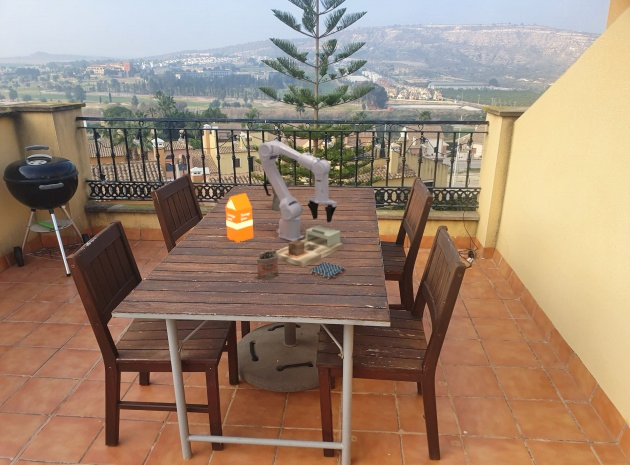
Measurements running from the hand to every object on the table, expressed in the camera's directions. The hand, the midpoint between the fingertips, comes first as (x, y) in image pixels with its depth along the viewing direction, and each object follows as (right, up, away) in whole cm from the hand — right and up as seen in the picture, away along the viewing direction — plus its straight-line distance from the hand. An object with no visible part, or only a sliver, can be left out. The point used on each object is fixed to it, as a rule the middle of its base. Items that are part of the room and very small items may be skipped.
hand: (322, 220), depth 198 cm
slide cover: (0, -9, -1) cm, 9 cm away
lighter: (-20, -21, -28) cm, 41 cm away
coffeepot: (-23, +8, +52) cm, 58 cm away
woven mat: (+2, -21, -25) cm, 32 cm away
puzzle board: (-6, -13, -7) cm, 16 cm away
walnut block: (-10, -13, -13) cm, 22 cm away
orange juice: (-37, -8, +9) cm, 39 cm away
